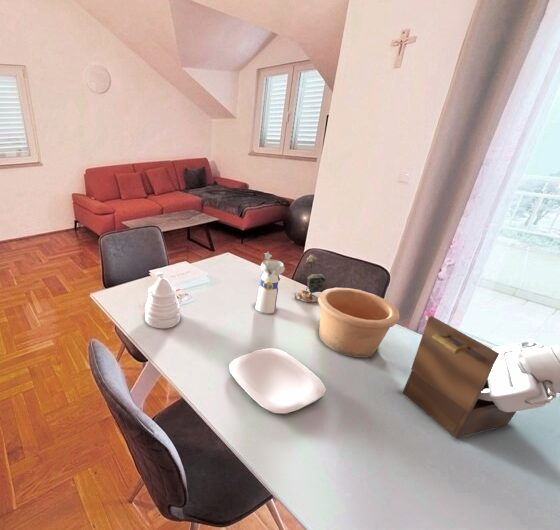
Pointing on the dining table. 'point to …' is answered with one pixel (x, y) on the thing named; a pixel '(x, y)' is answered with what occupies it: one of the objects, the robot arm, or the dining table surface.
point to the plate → (276, 380)
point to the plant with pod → (312, 284)
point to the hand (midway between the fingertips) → (466, 382)
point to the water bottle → (268, 285)
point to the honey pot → (162, 304)
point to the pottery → (354, 320)
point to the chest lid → (453, 363)
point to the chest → (455, 409)
